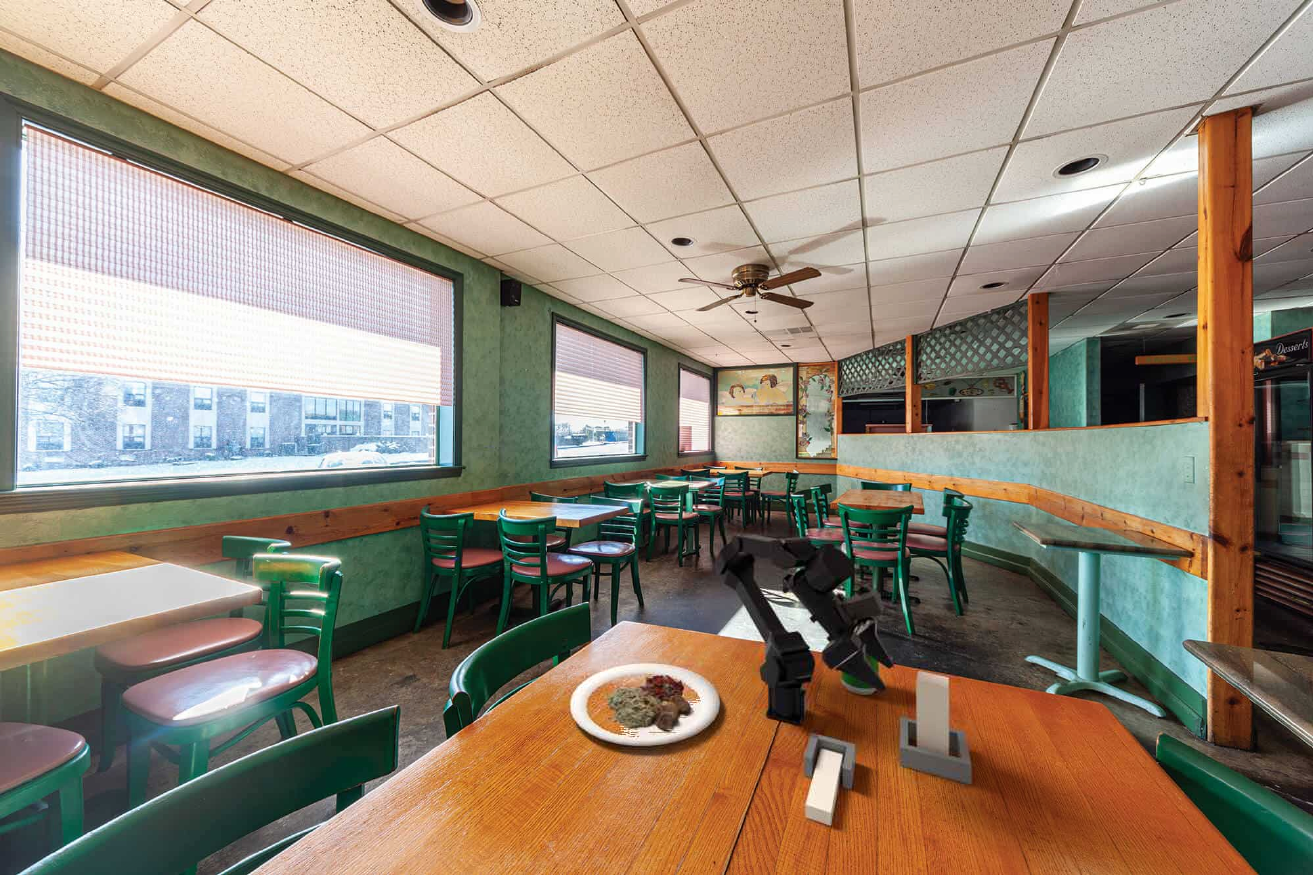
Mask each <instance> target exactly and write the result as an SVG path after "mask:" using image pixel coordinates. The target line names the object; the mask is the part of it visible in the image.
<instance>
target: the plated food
mask: <svg viewBox="0 0 1313 875" xmlns="http://www.w3.org/2000/svg"><path fill="white" fill-rule="evenodd" d="M643 674H653V675H656V676H652V678H650V677H649V678H648V677H646V680H645V681H646V682H645V683H644V685H642V686H638V687H631V688H627V687H620V688H618V689H616V690H615V692H614V693H613V694H612V695H609V697H610V698H607V697H606V698H607V699H608V700H609V701H608V703H607V704H608V705H610V709H611V710H614V711H616V714H615V715H616V716H612V717H610V718H607V719H611V718H613V717H615V718H616V720H613V722H617V721H619V723H621V724H622V725H624V726H620V727H627V728H624V729H627V730H621V731H624V732H628V731H629V733H630V734H628V733H622V734H626V735H618V734H614V733H611V732H609V731H606V730H604V729H602V728H601V727H599V726H598V725H596V724H595V723H594V722H593V721H592V720H591V719H590V717H589V715H588V713H587V702H588V698H589V696H591V694H592V692H594V691H595V690H596V689H598V687H600V686H602V685H604V684H605V683H608V682H609V681H612V680H613V679H617V678H619V677H624V676H626V675H643ZM660 675H661V676H660ZM674 679H677V680H678V682H677V681H675V680H674ZM682 683H685V684H686V685H688V686H689V687H691V689H693V690H695V692H697V694H698V696H699V697H700V699H696V700H701V701H699V702H698V701H692V702H697V703H689V702H690V701H688V702H687V701H686V700H685V698H684V697H682V694H683V690H684V685H683V684H682ZM619 690H621V691H619ZM663 701H667V702H668V703H666V704H665V705H662V702H663ZM569 702H570V706H569V707H570V708H569V709H570V714H571V716H572V717H573V720H574V721H575V723H576V724H577V725H578V726H579V727H580V728H581V729H582V730H584V731H585V732H587V733H588V734H589V735H591V736H594V737H596V738H598V739H600V740H603V741H607V742H610V743H615V744H618V745H625V746H626V745H627V746H632V747H633V746H635V747H636V746H643V747H645V746H646V747H647V746H648V747H649V746H657V745H658V746H659V745H660V746H661V745H667V744H670V743H671V744H672V743H676V742H680V741H682V740H685V739H687V738H691V737H693V736H695V735H697V734H699V733H700V732H702V731H703V730H705V729H706V728H708V727H709V726H710V724H711V723H713V721H715V719H716V717H717V715H718V713H720V712H719V710H720V706H721V701H720V696H719V693H718V691H717V690H716V688H715V686H714V685H713V684H712V683H711V682H710V681H709V680H708V679H706V678H704V677H703V676H702V675H700V674H698V673H696V672H694V671H692V670H689V669H686V668H683V667H679V666H676V665H675V666H674V665H670V664H662V663H661V664H660V663H653V662H652V663H649V662H648V663H632V664H625V665H620V666H616V667H611V668H608V669H605V670H603V671H600V672H597V673H595V674H593V675H592V676H590V677H588V678H587V679H585V680H584V681H583V682H582V683H580V684H579V685H578V686H577V688H576V689H575V690H574V691H573V694H572V695H571V699H570V701H569ZM690 704H693V705H690ZM691 711H694V712H691ZM692 713H693V714H692ZM681 715H684V716H681ZM680 717H686V718H680ZM678 719H679V720H678ZM616 724H617V723H616ZM621 729H622V728H621ZM628 729H630V730H628ZM635 729H637V730H635ZM668 729H672V730H668ZM631 732H638V733H631ZM649 732H676V733H649ZM631 734H636V735H631ZM653 734H654V735H653ZM629 736H630V737H629ZM631 736H635V737H631ZM637 736H639V737H637Z"/></svg>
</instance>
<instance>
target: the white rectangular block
mask: <svg viewBox="0 0 1313 875" xmlns="http://www.w3.org/2000/svg"><path fill="white" fill-rule="evenodd" d="M949 679H950V678H949V677H947V676H943V675H939V674H934V673H930V672H926V671H921V670H918V672H917V676H916V681H915V685H916V686H915V688H916V689H915V692H916V693H915V694H916V696H915V697H916V700H915V701H916V706H915V707H916V720H917V740H916V747H918V748H922V749H926V750H929V751H933V752H937V753H941V754H945V755H949V756H950V749H949V728H950V695H949V694H950V692H949V690H950V687H949V686H950V685H949V684H950V683H949V681H950V680H949Z"/></svg>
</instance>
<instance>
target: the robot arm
mask: <svg viewBox="0 0 1313 875" xmlns="http://www.w3.org/2000/svg"><path fill="white" fill-rule="evenodd" d="M757 557H760V558H764V559H767V560H770V563H771V564H772V566H774V567H777V568H778V569H780V570H782V571H788V570H797V569H799V570H797V571H796V572H794V573H793V574H790V573H787V575H785V576H784V577H783V578H782V579H781V581H782V593H783V594H787V593H789V591H790V592H791V593H792V594H793V595H794V596H795V598H797V600H798V601H799V602H800V603H801V604H802V606H803V607H804V608H805V609H806V610H807V612H808V613H809V614H810V615H811V616H810V617H809V618H808V619H809V620H810V622H811V623H813V624H815V623H816V622H817V623H818V624H819V625H820V626H821V629H823V630H824V631H825V632H826V633H827V634H828V636H826V640H827V641H828V643H826V645H825V646H824V648H823V649H822V651H821V661H822V662H823V663H824V665H826V667H827V668H828V669H829V670H830V671H831V670H833V669H834V670H835V671H836V672H839V671H840V673H841V672H844V673H846V674H848V675H850V676H852V677H854V678H856V679H858V680H860V681H862V682H864V683H866V684H868V685H870V686H871V687H873V688H875V689H877V690H876V691H879V692H885V691H886V690H887V685H886V684H885V682H884V681H883V679H882V677H881V676H880V675H878V673H877V672H876V671H875V669H874V668H873V666H872V665H871V663H870V662H869V661H868V659H867V658H866V653H867V654H868V655H870V656H871V657H872V658H874V659H875V660H877V661H878V664H881V665H883V666H884V667H885V668H887V669H892V668H893V667H894V663H893V661H892V659H891V657H890V655H889V653H888V651H887V650H886V648H885V647H884V645H883V643H882V640H881V638H880V637H879V635H878V632H877V630H878V629H877V628H878V626H877V624H878V619H877V618H876V617H879V616H881V615H883V613H884V611H883V610H885V609H886V607H885V604H884V603H883V601H882V599H881V596H882V594H881V593H880V592H879V591H878V590H877V589H876V588H873V587H871V586H870V585H869V584H868V583H866V584H863V585H860V586H859V587H858V588H857V594H853V595H852V596H850V597H846V596H845V595H844V594H843V593H842V592H841V593H840V592H836V593H835V592H834V591H835V590H836V589H837V588H839V587H840V586H841V585H843V584H844V583H845V582H847V581H848V580H850V579H851V578H852V576H854V573H855V566H854V562H853V560H852V558H850V557H849V556H848V555H847V554H846V553H845V552H844V551H842V550H840V549H838V548H836V547H835V544H834V543H833V542H824V543H822V544H820V545H819V547H818V546H817V545H816V544H814V543H813V541H812V540H811V538H809V537H807V536H801V537H791V538H790V537H789V538H774V537H767V536H762V535H757V534H755V533H752V532H751V533H750V532H749V533H738V534H735V535H733V536H732V537H731V540H730V541H729V543H727V544H726V545H725V546H724V547H723V548H721V549H720V551H719V552H718V554H717V556H716V559H715V561H714V564H713V565H714V566H713V567H714V571H715V573H716V575H717V576H718V577H719V579H720V580H721V582H722V583H723V585H725V586H727V587H728V588H730V589H732V590H733V591H735V592H736V594H737V596H738V598H739V599H740V602H741V603H742V604H743V606H744V608H745V610H746V612H747V613H748V616H749V617H750V619H751V620H752V622H753V624H754V626H755V627H756V629H757V631H758V633H759V635H760V636H761V638H762V640H763V641H764V643H765V652H764V654H765V655H764V659H765V661H764V663H763V664H761V666H759V669H758V670H759V674H760V680H761V681H762V682H763V683H764V684H766V685H767V696H768V697H767V700H768V701H767V702H768V703H767V704H768V705H767V710H766V711H765V716H766V717H768V718H771V719H775V720H779V721H782V722H786V723H790V724H792V725H793V724H794V725H801V723H802V720H803V718H804V717H806V714H807V711H808V710H807V704H808V702H807V691H806V689H804V684H811V682H812V680H813V674H814V672H815V669H816V660H815V657H814V654H813V653H812V651H811V650H810V649H811V646H810V645H809V644H807V643H806V641H805V639H804V637H803V635H802V633H800V632H799V631H798V630H795V631H788V630H787V629H786V628H785V626H784V625H783V623H782V622H781V620H780V618H779V616H778V615H777V614H776V612H775V611H774V609H773V607H772V605H771V604H770V602H769V601H768V599H767V598H766V596H765V594H764V592H763V591H762V589H761V588H760V586H759V585H758V583H757V581H756V580H755V576H754V575H755V569H756V568H755V565H756V563H757ZM870 621H871V622H870Z"/></svg>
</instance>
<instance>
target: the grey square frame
mask: <svg viewBox="0 0 1313 875" xmlns="http://www.w3.org/2000/svg"><path fill="white" fill-rule="evenodd" d="M899 719H900V724H899V725H900V726H899V727H900V728H899V766H901V767H904V768H908V769H912V770H914V771H915V770H916V771H919V772H923V773H926V774H930V775H934V776H937V777H941V778H945V779H948V780H952V781H956V782H960V783H964V784H966V785H970V786H972V784H973V783H972V782H973V781H972V779H973V778H972V776H973V775H972V774H973V773H972V762H971V757H970V752H969V747H968V741H967V737H966V732H965V731H964V730H961V729H956V728H951V727H949V750H954V751H957V756H953V755H950V754H949V755H945V754H941V753H937V752H933V751H929V750H926V749H922V748H918V747H917V746H913V745H909V740H913V741H917V719H913V718H909V717H905V716H900V718H899Z"/></svg>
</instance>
